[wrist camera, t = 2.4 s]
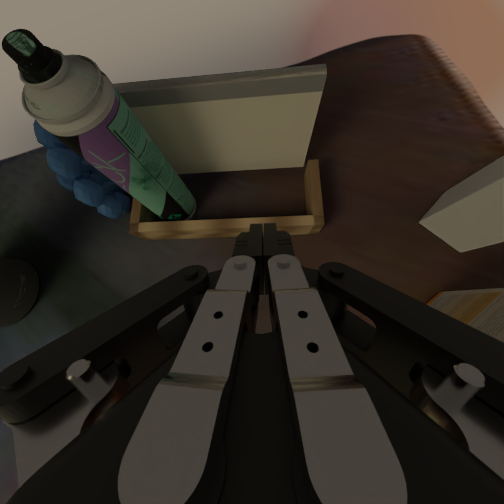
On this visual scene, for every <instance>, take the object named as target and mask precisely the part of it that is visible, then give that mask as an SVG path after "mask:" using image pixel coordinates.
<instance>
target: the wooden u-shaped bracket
mask: <svg viewBox="0 0 504 504" xmlns="http://www.w3.org/2000/svg"><path fill="white" fill-rule="evenodd" d="M304 183H305V196H306V208H307V215H306V216H282V217H259V218H236V219H213V220H190V221H166V222H155V213H154V212H152V211H151V210H150V209H148V208H147V207H146V206H145V205H143V204H142V203H141V202H139V201H138V200H137V199H135V198H134V197H133V202H132V210H131V218H130V225H129V233H131V234H134V235H136V236H138V237H140V238H142V239H144V240H159V239H187V238H214V237H237V236H238V235H239V234H240V233H241V232H249V228H250V224H257V223H262V224H263V236H264V223H276V228H277V231H286V232H287V233H289V234H290V235H296V234H318V233H319V231H320V230H321V228H322V227H323V226H324V214H323V204H322V194H321V184H320V173H319V163H318V159H317V160H308V163H307V167H306V171H305V174H304Z"/></svg>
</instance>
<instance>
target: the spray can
mask: <svg viewBox="0 0 504 504" xmlns="http://www.w3.org/2000/svg"><path fill="white" fill-rule="evenodd" d="M2 48H3V50H4V51H5V52H6V53H7V54H8V55H9V56H10V57H11V58H12V59H13V60H14V61H15V62H16V63H17V64H18V69H19V71H20V74H19V75H20V79H21V81H22V82H23V83H24V84H25V86H24V88H23V92H22V104H23V107H24V109H25V111H26V112H27V113H28V114H29V115H30V116H32V117H33V118H34V119H36V120H37V122H38V123H39V124H40V125H41V126H42V127H43V128H44V129H46V130H47V131H48V132H50V133H51V134H52V135H53V136H55V137H56V138H57V139H59V140H60V141H61V142H63V143H64V144H65V145H66V146H68V147H69V148H70V149H72V150H73V151H74V152H76V153H77V154H78V155H79V156H81V157H82V158H83V159H85V160H86V161H87V162H89V163H90V164H91V165H92V166H94V167H95V168H96V169H98V170H99V171H100V172H102V173H103V174H104V175H105V176H107V177H108V178H109V179H111V180H112V181H113V182H115V183H116V184H117V185H119V186H120V187H121V188H122V189H124V190H125V191H126V192H128V193H129V194H130V195H132V196H133V197H134V198H135V199H137V200H138V201H139V202H141V203H142V204H143V205H145V206H146V207H147V208H148V209H150V210H151V211H152V212H154V213H155V214H156V215H158V216H159V217H160V218H161V219H163V220H164V221H188V220H189V219H190V218H191V217H192V216H193V215H194V213H195V210H196V201H195V198H194V197H193V195H192V194H191V192H190V191H189V190H188V188H187V187H186V185H185V184H184V183H183V181H182V180H181V178H180V177H179V176H178V174H177V173H176V172H175V170H174V169H173V167H172V166H171V165H170V163H169V162H168V160H167V159H166V158H165V156H164V155H163V154H162V152H161V151H160V149H159V148H158V147H157V145H156V144H155V142H154V141H153V140H152V138H151V137H150V135H149V134H148V133H147V131H146V130H145V129H144V127H143V126H142V124H141V123H140V122H139V120H138V119H137V117H136V116H135V115H134V113H133V112H132V110H131V109H130V108H129V106H128V105H127V104H126V102H125V101H124V99H123V98H122V97H121V95H120V94H119V92H118V91H117V90H116V88H115V87H114V85H113V84H112V83H111V81H110V80H109V79H108V77H107V76H106V75H105V74H104V73H103V72H102V71H101V70H100V69H99V67H98V66H97V65H96V63H95V62H93V61H92V60H91V59H89V58H87V57H84V56H81V55H66V56H65V55H63V54H62V53H61V52H60V51H58V50H55V49H51V48H49V47H46V46H43V44H42V43H40V41H39V40H38V39H37V38H36V37H35V36H34V35H33V34H32V33H31V32H30V31H28V30H25V29H17V30H14V31H12V32H10V33H9V34H7V35H6V36H5V37H4V39H3V41H2Z"/></svg>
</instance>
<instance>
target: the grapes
mask: <svg viewBox="0 0 504 504" xmlns="http://www.w3.org/2000/svg"><path fill="white" fill-rule="evenodd" d="M34 131H35V135H36V138H37V140H38V142H39V143H41V144H42V145H44V146H45V147H48V150H47V153H46V157H47V163H48V166H49V168H50V170H51V171H53V172H55V173H56V178H57V181H58V184H59V185H61V186H62V187H64V188H66V189H68V190H70V191H72V192H74V195H75V198H76V199H77V200H79V201H81V202H82V203H84V204H86V205H89V206H92V207H97V211H98V212H99V213H101V214H102V215H104V216H106V217H108V218H111V219H118V218H119V217H120V216H121V215H122V214H127V213H128V212H129V210H130V207H131V201H130V198H129V197H127V196H126V193H127V192H126V191H125V190H124V189H122V188H121V187H120V186H119V185H117V184H116V183H115V182H113V181H112V180H111V179H109V178H108V177H107V176H105V175H104V174H103V173H102V172H100V171H99V170H98V169H96V168H95V167H94V166H92V165H91V164H90V163H89V162H87V161H86V160H85V159H83V158H82V157H81V156H79V155H78V154H77V153H76V152H74V151H73V150H72V149H70V148H69V147H68V146H66V145H65V144H64V143H63V142H61V141H60V140H59V139H57V138H56V137H55V136H53V135H52V134H51V133H50V132H48V131H47V130H46V129H44V128H43V127H42V126H41V125H40V124H39V123H38V122H37V120H36V119H35V122H34Z"/></svg>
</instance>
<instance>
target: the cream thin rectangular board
mask: <svg viewBox="0 0 504 504" xmlns="http://www.w3.org/2000/svg"><path fill="white" fill-rule="evenodd" d="M326 77H327V69H326V64H318V65H308V66H297V67H287V68H276V69H266V70H255V71H245V72H235V73H224V74H214V75H203V76H192V77H182V78H170V79H160V80H149V81H139V82H129V83H118V84H113V85H114V87H115V88H116V90H117V91H118V92H119V94H120V95H121V97H122V98H123V99H124V101H125V102H126V104H127V105H128V106H129V108H130V109H131V110H132V112H133V113H134V115H135V116H136V117H137V119H138V120H139V122H140V123H141V124H142V126H143V127H144V129H145V130H146V131H147V133H148V134H149V135H150V137H151V138H152V140H153V141H154V142H155V144H156V145H157V147H158V148H159V149H160V151H161V152H162V154H163V155H164V156H165V158H166V159H167V160H168V162H169V163H170V165H171V166H172V167H173V169H174V170H175V172H176V173H177V174H188V173H205V172H222V171H238V170H255V169H272V168H288V167H303V166H304V162H305V158H306V154H307V150H308V146H309V142H310V138H311V135H312V131H313V127H314V123H315V119H316V115H317V111H318V107H319V103H320V100H321V96H322V92H323V89H324V85H325V81H326Z"/></svg>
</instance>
